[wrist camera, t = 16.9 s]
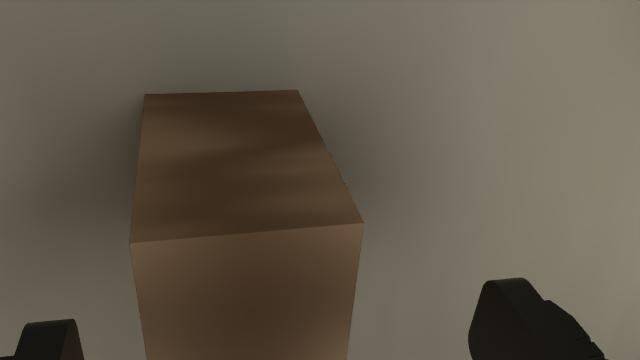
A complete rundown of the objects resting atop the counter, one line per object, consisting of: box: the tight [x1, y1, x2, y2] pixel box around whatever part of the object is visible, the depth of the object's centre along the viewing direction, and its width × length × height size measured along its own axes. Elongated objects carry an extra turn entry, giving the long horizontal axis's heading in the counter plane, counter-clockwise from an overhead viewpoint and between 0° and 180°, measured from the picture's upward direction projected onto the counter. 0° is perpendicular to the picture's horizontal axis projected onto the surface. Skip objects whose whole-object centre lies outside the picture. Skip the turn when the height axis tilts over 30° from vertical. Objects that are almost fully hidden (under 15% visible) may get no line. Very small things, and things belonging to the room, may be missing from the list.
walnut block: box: [129, 90, 364, 360], centre depth 14 cm, size 4×4×7 cm
